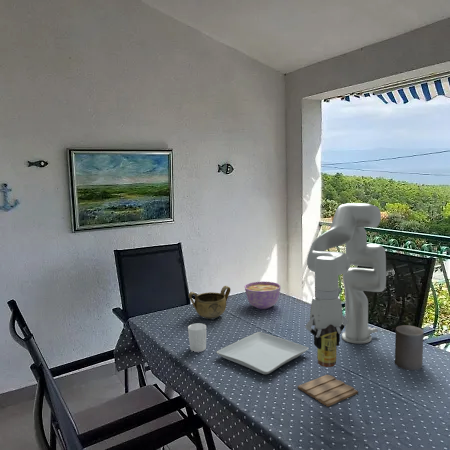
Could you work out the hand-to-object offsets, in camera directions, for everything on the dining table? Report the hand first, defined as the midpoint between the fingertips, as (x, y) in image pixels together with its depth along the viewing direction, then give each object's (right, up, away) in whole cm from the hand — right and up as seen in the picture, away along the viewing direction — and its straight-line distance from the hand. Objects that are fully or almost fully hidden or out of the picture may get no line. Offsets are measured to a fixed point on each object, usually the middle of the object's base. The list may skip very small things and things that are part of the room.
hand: (326, 345), depth 139 cm
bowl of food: (-13, -5, +91) cm, 92 cm away
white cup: (-46, -13, +40) cm, 62 cm away
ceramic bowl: (-41, -8, +78) cm, 89 cm away
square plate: (-19, -14, +30) cm, 38 cm away
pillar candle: (+35, -13, +18) cm, 42 cm away
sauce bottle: (0, -7, +1) cm, 7 cm away
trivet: (+1, -16, +2) cm, 16 cm away
